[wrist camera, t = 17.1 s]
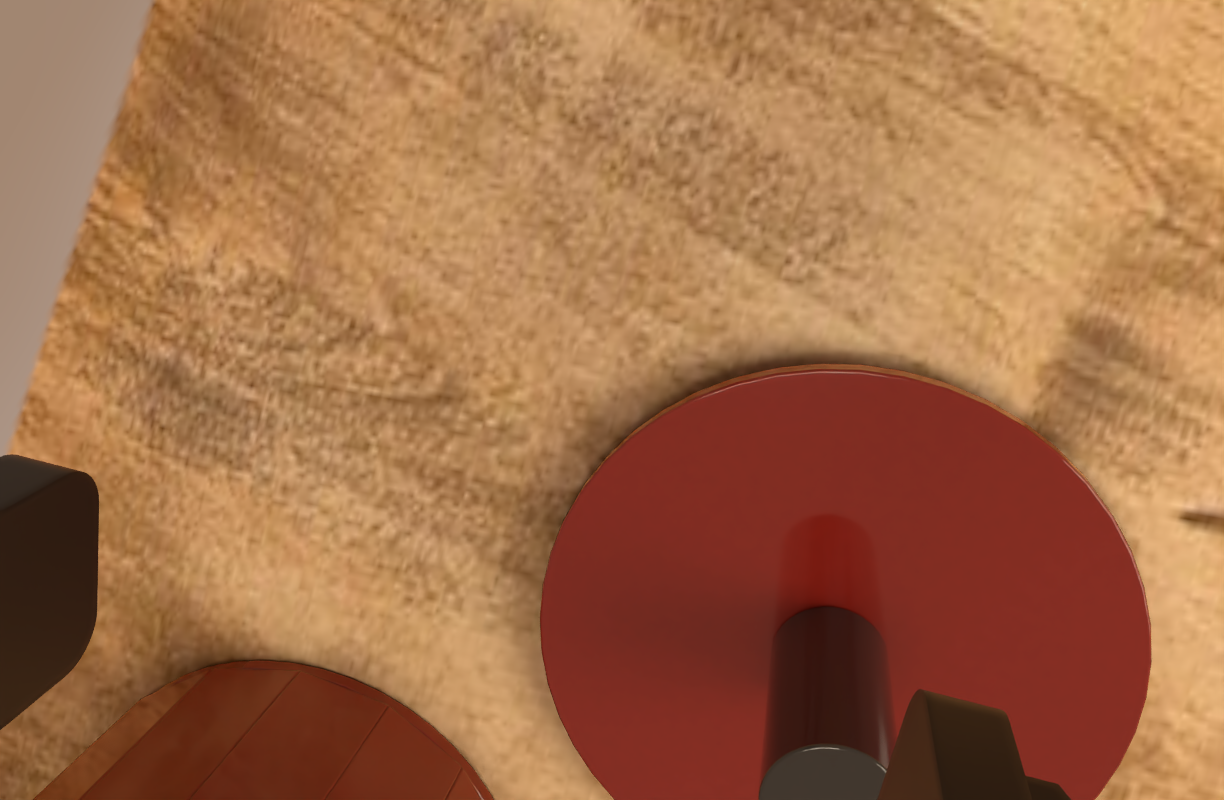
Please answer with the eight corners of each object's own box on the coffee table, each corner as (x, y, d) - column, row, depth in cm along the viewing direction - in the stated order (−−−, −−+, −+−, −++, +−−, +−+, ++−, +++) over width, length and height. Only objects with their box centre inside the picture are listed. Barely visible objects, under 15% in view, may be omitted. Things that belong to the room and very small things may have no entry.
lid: (444, 628, 31) (340, 784, 24) (814, 227, 26) (811, 285, 19) (840, 960, 32) (845, 1199, 25) (1278, 639, 27) (1433, 835, 20)
